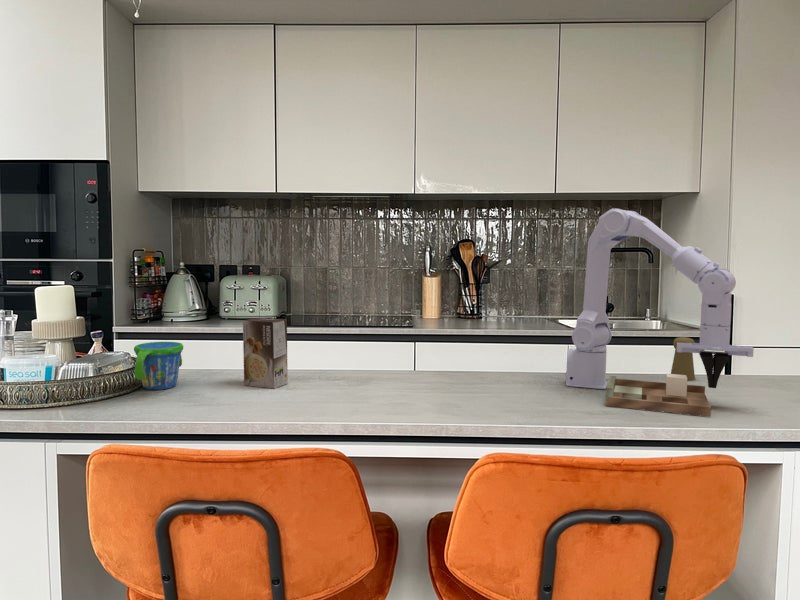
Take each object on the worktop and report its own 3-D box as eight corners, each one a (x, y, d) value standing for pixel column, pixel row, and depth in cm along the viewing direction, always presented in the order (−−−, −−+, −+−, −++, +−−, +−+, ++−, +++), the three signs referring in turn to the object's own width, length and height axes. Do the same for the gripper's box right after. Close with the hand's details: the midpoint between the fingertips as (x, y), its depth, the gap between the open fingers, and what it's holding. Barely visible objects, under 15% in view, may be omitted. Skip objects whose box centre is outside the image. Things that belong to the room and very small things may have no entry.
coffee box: (289, 383, 145) (288, 319, 144) (274, 389, 139) (273, 321, 138) (258, 380, 148) (257, 317, 147) (242, 385, 142) (241, 319, 141)
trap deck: (606, 406, 127) (606, 387, 126) (609, 392, 140) (610, 375, 139) (710, 417, 119) (711, 397, 119) (703, 401, 132) (704, 383, 132)
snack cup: (155, 396, 131) (154, 351, 130) (116, 392, 134) (115, 348, 133) (199, 382, 146) (198, 341, 145) (163, 378, 149) (163, 339, 148)
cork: (697, 381, 154) (700, 339, 153) (673, 380, 155) (675, 338, 154) (691, 376, 159) (693, 336, 159) (667, 375, 161) (669, 335, 160)
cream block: (666, 394, 129) (667, 376, 129) (665, 391, 133) (666, 373, 133) (686, 396, 128) (687, 378, 128) (685, 392, 132) (686, 375, 131)
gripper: (679, 325, 126) (676, 387, 127) (757, 328, 120) (753, 394, 121) (677, 321, 132) (674, 381, 133) (751, 325, 127) (748, 387, 128)
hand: (712, 387), depth 128 cm, fingers closed
